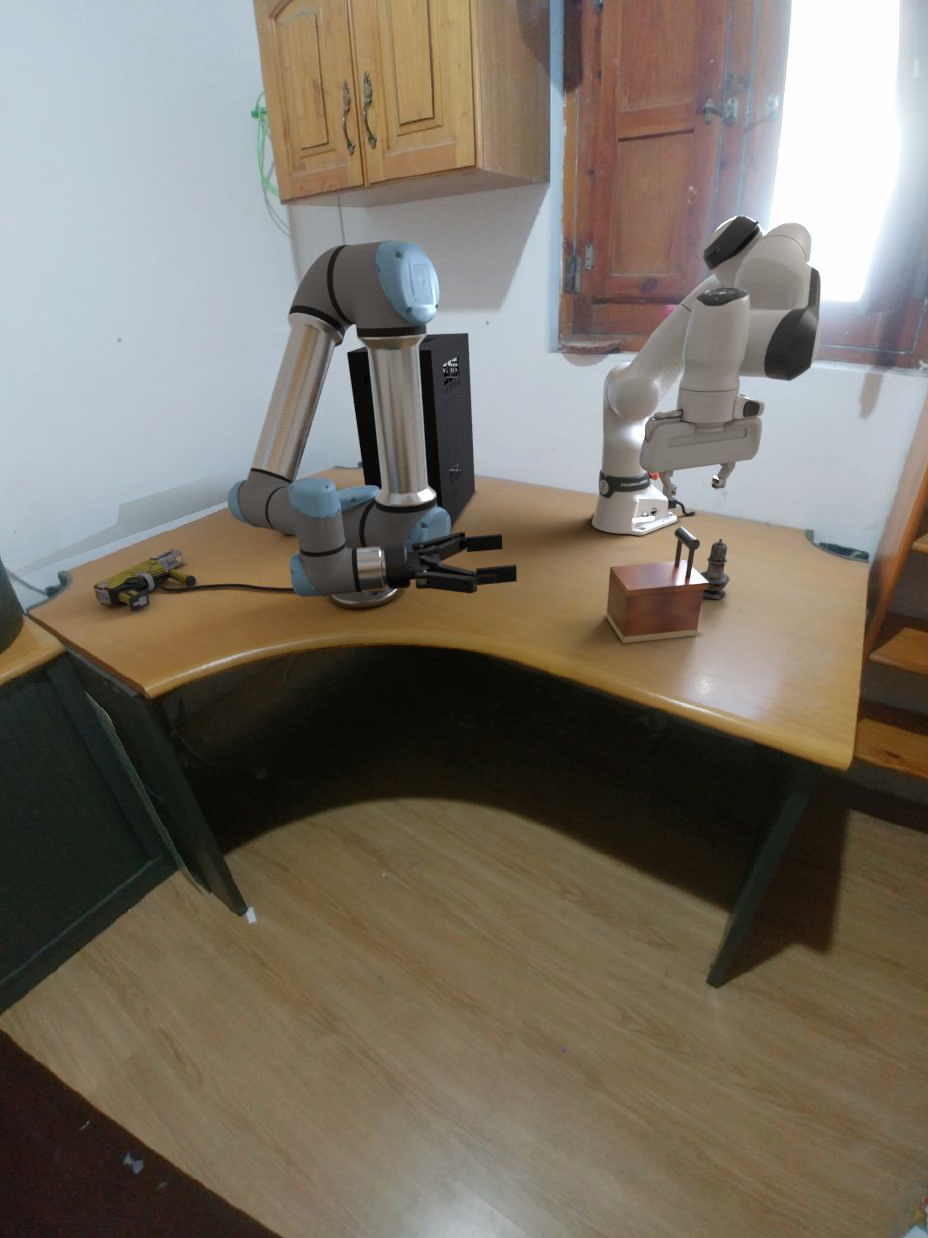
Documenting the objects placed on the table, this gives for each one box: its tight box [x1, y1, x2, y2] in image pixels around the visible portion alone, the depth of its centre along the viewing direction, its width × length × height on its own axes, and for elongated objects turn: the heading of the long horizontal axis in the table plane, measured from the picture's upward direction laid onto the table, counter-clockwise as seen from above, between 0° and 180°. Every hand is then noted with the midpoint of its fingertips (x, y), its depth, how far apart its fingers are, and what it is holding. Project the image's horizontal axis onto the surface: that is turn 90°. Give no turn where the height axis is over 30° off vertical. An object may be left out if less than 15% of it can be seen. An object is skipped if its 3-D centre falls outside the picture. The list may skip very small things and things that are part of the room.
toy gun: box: [93, 548, 197, 612], centre depth 139 cm, size 5×24×15 cm
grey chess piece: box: [699, 538, 731, 600], centre depth 121 cm, size 6×6×12 cm
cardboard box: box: [346, 332, 476, 528], centre depth 164 cm, size 38×20×45 cm, turn 167°
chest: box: [605, 573, 704, 644], centre depth 112 cm, size 14×10×10 cm
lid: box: [609, 526, 709, 597], centre depth 107 cm, size 14×10×9 cm
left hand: (509, 556), depth 104 cm, fingers open, 13 cm apart
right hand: (693, 491), depth 102 cm, fingers open, 8 cm apart
